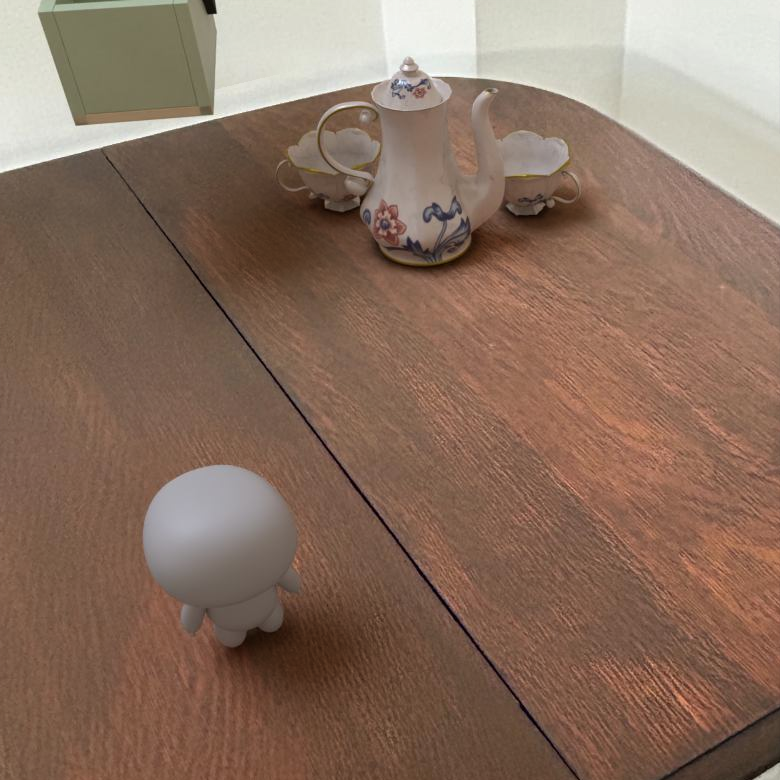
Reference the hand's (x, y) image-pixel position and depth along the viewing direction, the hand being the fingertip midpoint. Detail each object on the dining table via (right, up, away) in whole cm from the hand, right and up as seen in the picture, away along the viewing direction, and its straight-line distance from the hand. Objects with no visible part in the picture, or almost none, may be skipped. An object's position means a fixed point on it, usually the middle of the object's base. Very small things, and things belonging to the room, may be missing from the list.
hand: (139, 10), depth 80 cm
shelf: (0, -4, +1) cm, 5 cm away
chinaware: (+21, -12, +14) cm, 29 cm away
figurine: (+14, -47, -18) cm, 53 cm away
